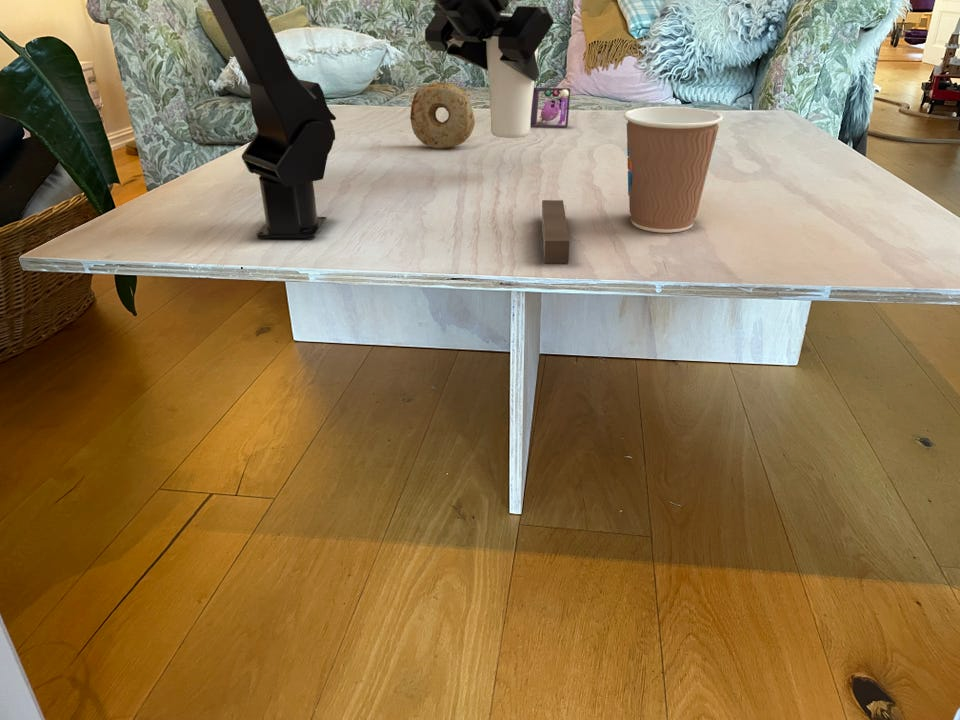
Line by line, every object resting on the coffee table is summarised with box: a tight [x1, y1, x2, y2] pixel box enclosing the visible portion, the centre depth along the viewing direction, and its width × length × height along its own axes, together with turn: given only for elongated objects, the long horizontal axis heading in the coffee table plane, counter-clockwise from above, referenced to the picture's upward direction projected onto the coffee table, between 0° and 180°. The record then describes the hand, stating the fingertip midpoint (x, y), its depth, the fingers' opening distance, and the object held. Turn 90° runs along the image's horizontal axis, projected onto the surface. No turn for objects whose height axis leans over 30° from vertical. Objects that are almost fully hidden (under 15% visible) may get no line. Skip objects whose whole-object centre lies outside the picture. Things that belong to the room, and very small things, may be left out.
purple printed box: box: [530, 87, 571, 129], centre depth 135 cm, size 7×5×9 cm
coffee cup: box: [623, 106, 724, 234], centre depth 82 cm, size 10×10×12 cm
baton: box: [541, 199, 570, 265], centre depth 79 cm, size 14×2×2 cm, turn 177°
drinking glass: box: [486, 13, 539, 139], centre depth 97 cm, size 7×7×15 cm
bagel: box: [409, 81, 476, 149], centre depth 118 cm, size 10×4×10 cm, turn 77°
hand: (518, 75), depth 98 cm, fingers closed on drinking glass, 6 cm apart
